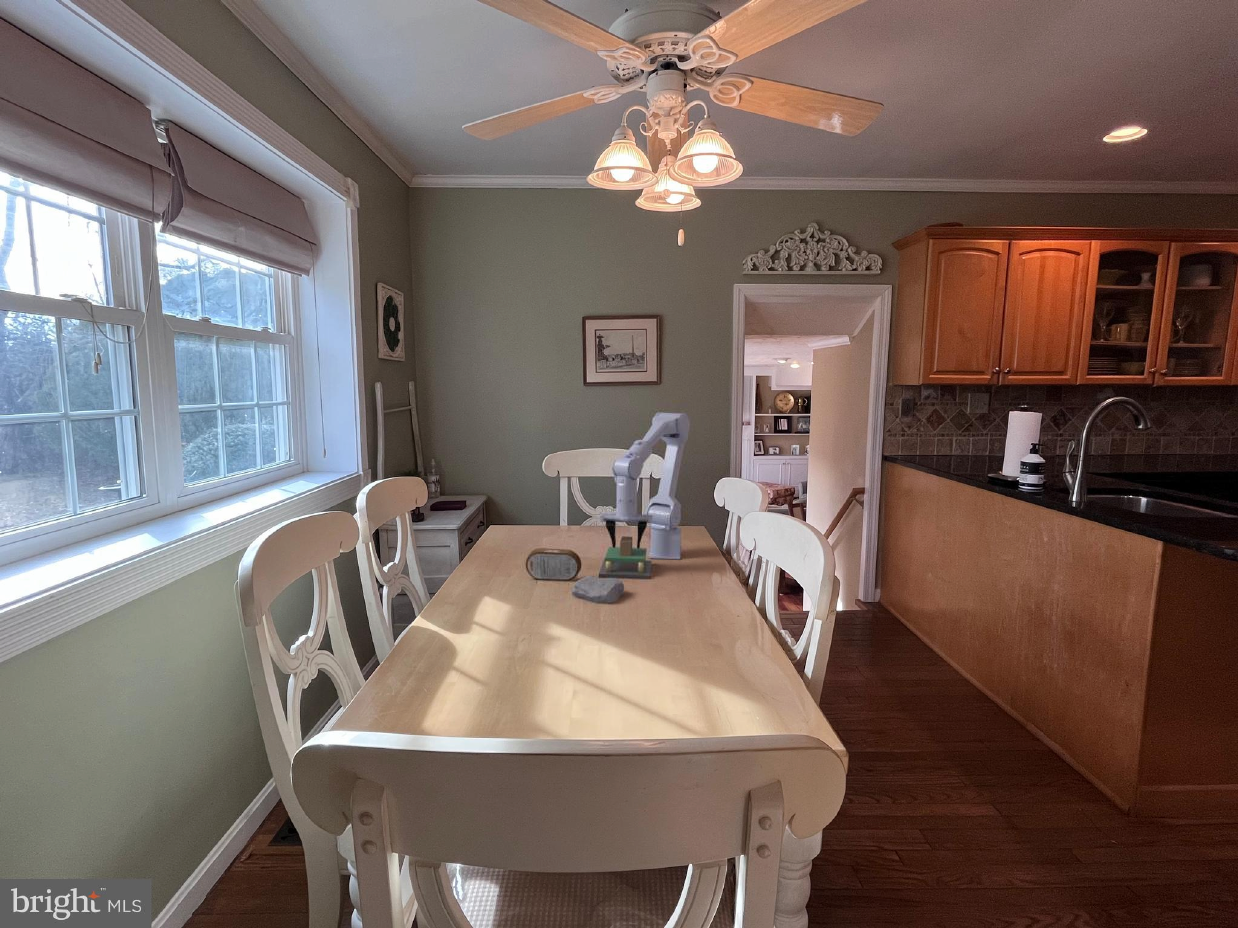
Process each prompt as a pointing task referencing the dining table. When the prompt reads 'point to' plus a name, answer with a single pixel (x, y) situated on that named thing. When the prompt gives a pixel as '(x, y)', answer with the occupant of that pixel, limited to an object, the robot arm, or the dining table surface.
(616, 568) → the chassis
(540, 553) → the tin
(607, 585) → the stone block
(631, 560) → the board
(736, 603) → the dining table surface
